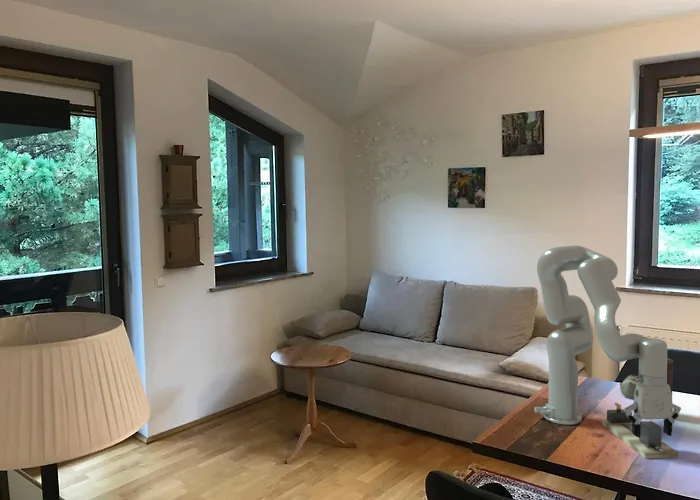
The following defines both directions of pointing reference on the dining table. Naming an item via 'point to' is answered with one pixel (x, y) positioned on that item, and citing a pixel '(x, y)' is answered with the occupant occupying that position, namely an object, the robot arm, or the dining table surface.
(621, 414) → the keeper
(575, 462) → the dining table surface
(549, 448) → the dining table surface
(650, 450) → the rail board
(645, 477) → the dining table surface
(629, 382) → the ceramic sculpture
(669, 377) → the candle
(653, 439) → the dark grey block
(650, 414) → the robot arm
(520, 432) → the dining table surface
